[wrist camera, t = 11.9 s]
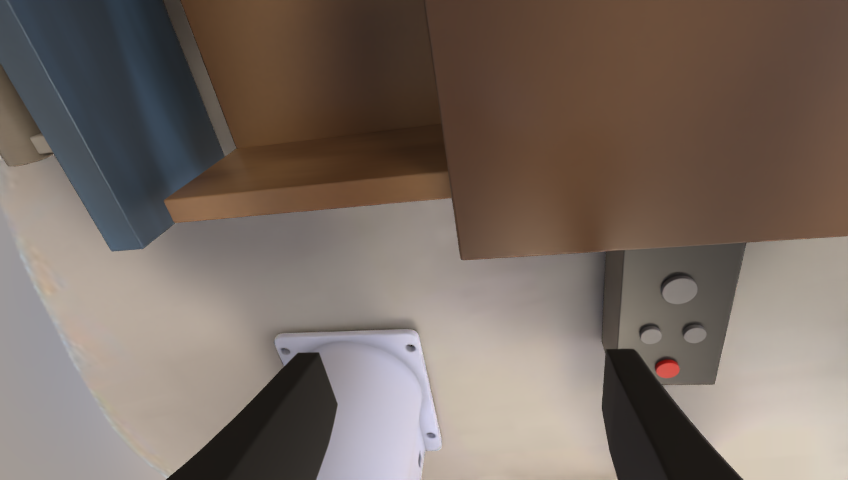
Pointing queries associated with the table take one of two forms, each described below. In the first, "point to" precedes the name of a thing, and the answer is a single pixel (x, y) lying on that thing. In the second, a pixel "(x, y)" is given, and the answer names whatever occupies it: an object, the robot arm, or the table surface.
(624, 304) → the remote
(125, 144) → the drawer
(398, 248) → the table surface
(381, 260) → the table surface
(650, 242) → the cabinet
